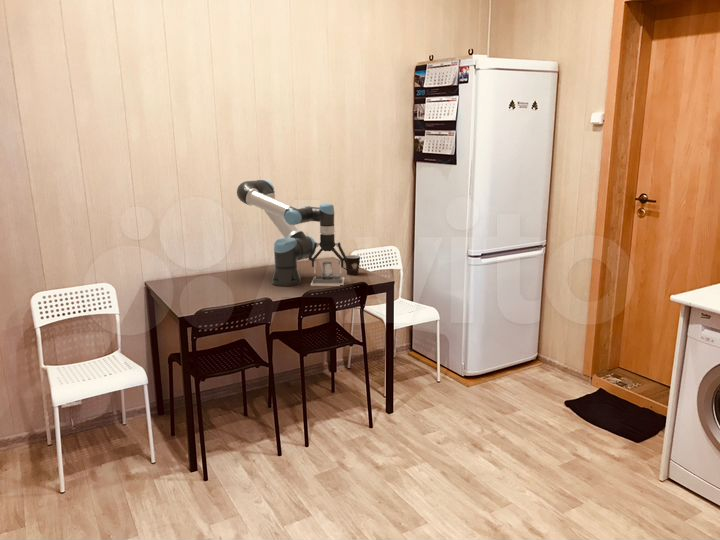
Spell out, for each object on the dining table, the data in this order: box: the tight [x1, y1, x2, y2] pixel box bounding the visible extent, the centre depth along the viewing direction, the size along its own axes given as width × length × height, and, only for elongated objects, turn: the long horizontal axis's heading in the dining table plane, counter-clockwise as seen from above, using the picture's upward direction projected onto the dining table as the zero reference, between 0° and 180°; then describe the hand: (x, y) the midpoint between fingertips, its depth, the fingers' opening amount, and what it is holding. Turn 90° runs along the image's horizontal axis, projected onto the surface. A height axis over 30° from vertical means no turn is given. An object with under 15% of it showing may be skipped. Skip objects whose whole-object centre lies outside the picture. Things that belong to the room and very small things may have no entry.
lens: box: [321, 261, 334, 279], centre depth 305 cm, size 6×6×10 cm
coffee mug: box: [338, 254, 361, 276], centre depth 324 cm, size 12×9×10 cm
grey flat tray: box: [310, 275, 345, 287], centre depth 306 cm, size 17×16×2 cm
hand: (327, 273), depth 305 cm, fingers open, 13 cm apart
